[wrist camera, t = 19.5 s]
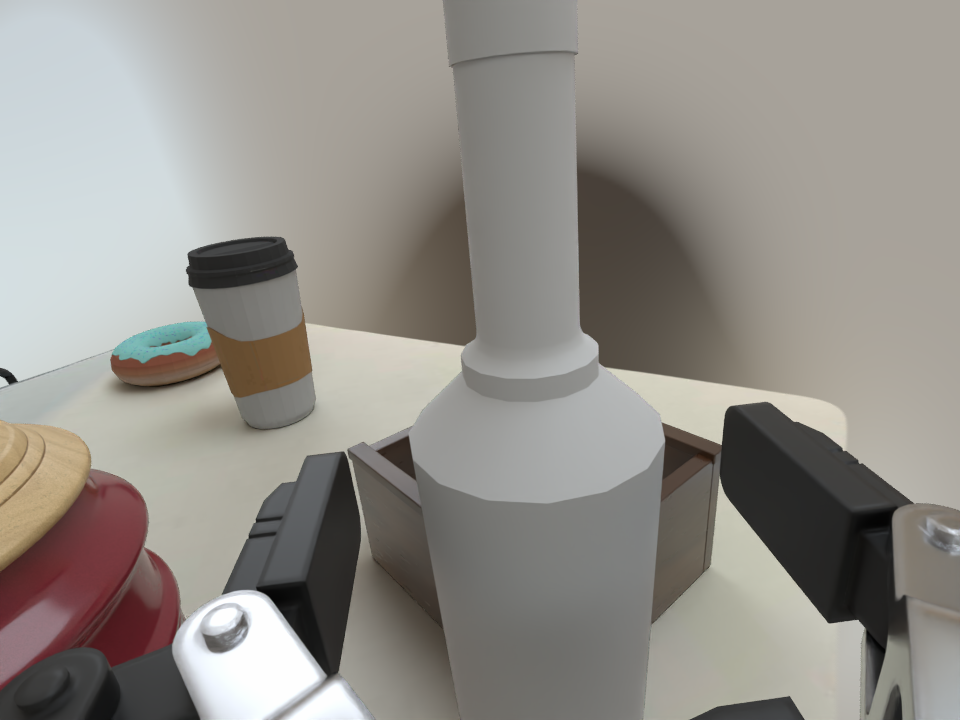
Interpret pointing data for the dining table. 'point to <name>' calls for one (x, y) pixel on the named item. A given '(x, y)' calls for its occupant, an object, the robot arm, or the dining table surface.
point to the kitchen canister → (75, 557)
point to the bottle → (534, 409)
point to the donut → (165, 355)
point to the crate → (405, 543)
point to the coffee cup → (256, 326)
